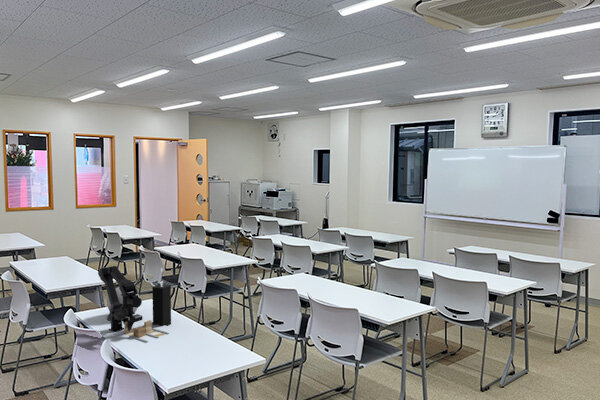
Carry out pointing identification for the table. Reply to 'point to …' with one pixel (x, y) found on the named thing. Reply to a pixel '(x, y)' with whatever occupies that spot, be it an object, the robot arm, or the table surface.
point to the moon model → (119, 299)
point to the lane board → (149, 335)
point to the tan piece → (127, 330)
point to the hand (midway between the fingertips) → (128, 330)
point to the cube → (139, 332)
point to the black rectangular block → (162, 304)
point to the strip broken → (149, 329)
